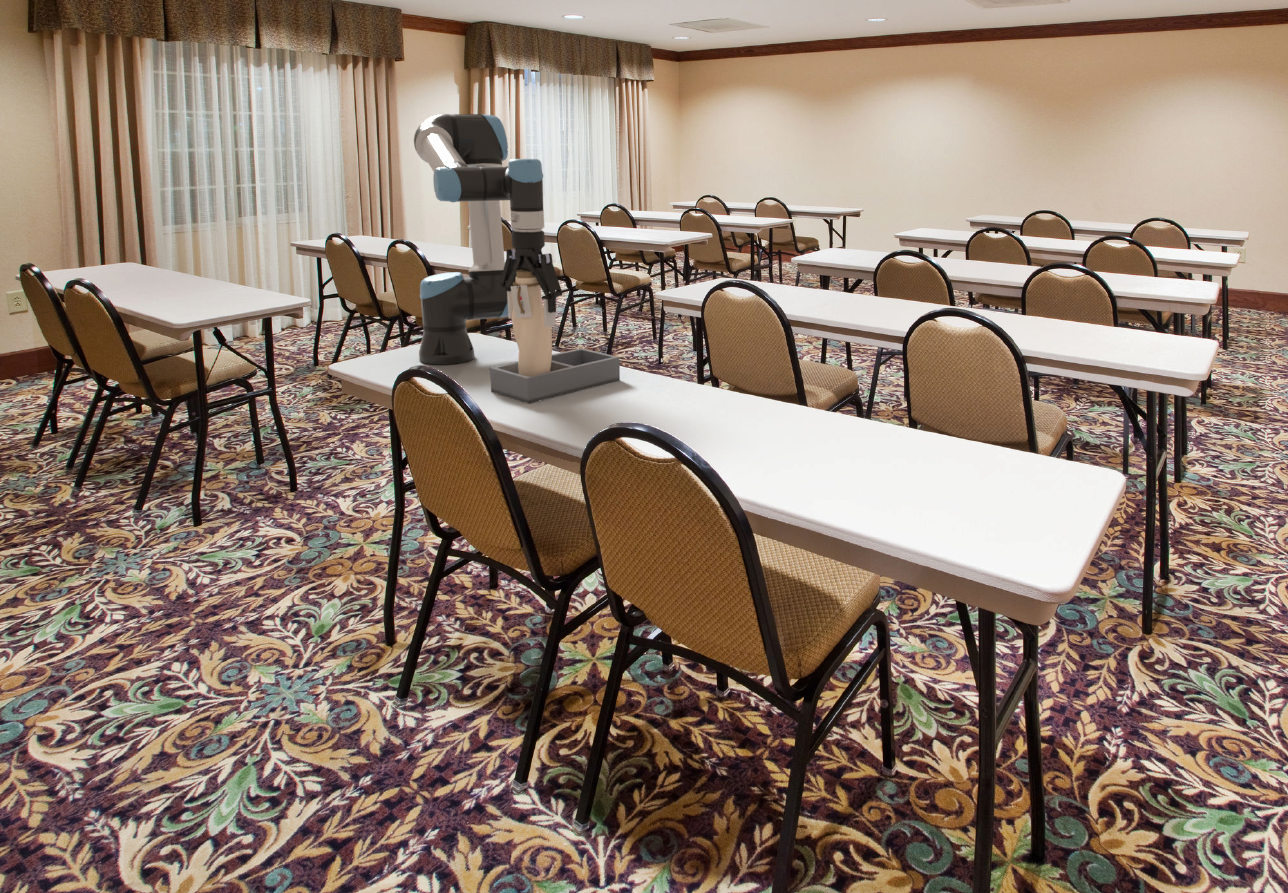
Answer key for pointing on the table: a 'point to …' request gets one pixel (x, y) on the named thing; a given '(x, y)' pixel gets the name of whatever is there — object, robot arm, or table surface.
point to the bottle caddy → (556, 376)
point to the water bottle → (530, 326)
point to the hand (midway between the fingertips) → (531, 322)
